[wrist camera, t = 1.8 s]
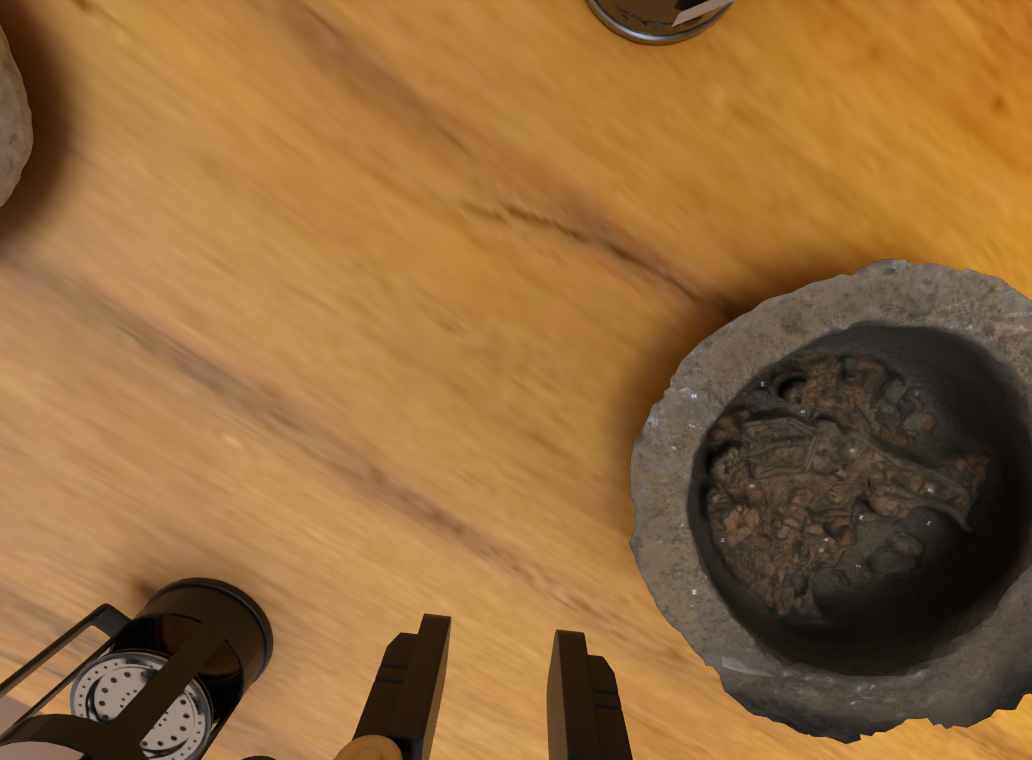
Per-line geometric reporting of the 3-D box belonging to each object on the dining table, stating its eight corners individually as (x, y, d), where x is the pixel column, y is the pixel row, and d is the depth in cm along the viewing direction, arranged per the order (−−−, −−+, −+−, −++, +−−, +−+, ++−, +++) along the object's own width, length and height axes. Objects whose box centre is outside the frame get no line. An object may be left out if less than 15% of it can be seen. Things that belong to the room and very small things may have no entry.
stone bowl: (944, 655, 34) (1077, 793, 25) (583, 587, 36) (589, 694, 27) (1092, 296, 28) (1333, 310, 19) (654, 234, 30) (691, 221, 21)
